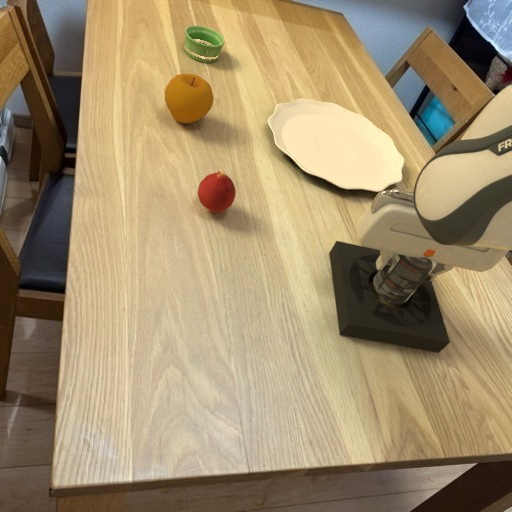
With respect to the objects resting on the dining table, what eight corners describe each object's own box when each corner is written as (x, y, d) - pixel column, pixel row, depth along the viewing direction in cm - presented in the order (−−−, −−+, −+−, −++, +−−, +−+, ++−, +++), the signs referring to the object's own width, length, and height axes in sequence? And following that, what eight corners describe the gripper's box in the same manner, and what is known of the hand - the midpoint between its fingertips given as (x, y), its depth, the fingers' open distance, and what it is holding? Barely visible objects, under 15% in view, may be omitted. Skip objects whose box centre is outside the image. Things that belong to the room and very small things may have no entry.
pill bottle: (415, 297, 75) (457, 249, 67) (390, 310, 72) (432, 261, 64) (389, 269, 78) (427, 219, 69) (364, 280, 74) (401, 229, 66)
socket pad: (439, 352, 73) (450, 342, 71) (339, 335, 70) (348, 323, 67) (416, 271, 84) (425, 259, 82) (329, 252, 80) (336, 240, 78)
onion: (223, 197, 82) (235, 159, 76) (233, 222, 79) (246, 184, 73) (190, 197, 79) (200, 158, 74) (198, 223, 76) (209, 184, 70)
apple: (185, 140, 89) (194, 97, 83) (149, 114, 91) (156, 70, 85) (216, 125, 95) (227, 84, 89) (182, 101, 97) (191, 59, 91)
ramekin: (224, 53, 116) (229, 35, 112) (214, 69, 109) (218, 50, 106) (188, 39, 115) (192, 20, 112) (176, 54, 109) (179, 35, 106)
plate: (285, 193, 87) (290, 183, 86) (252, 99, 105) (255, 89, 104) (420, 204, 98) (427, 195, 96) (369, 117, 116) (374, 108, 114)
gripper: (388, 202, 58) (340, 275, 67) (534, 238, 62) (469, 301, 72) (379, 169, 62) (335, 242, 72) (517, 204, 66) (458, 269, 76)
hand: (403, 272), depth 72 cm, fingers closed on pill bottle, 6 cm apart
